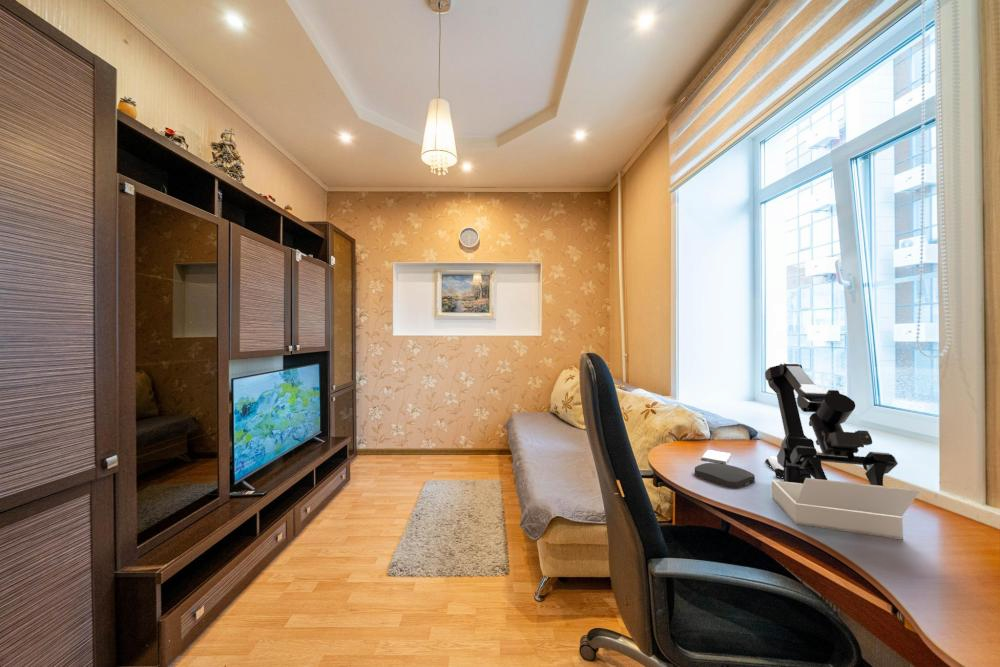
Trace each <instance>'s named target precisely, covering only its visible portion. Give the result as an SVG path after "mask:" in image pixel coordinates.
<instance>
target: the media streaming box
mask: <svg viewBox="0 0 1000 667" xmlns="http://www.w3.org/2000/svg"><path fill="white" fill-rule="evenodd" d="M694 475H695V476H696V475H697V476H698V477H697V476H696V477H697V478H700V477H701V478H700V479H702V478H703V479H702V480H705V479H706V481H708V480H709V482H711V483H713V482H714V484H716V483H717V484H716V485H719V484H720V485H719V486H722V485H723V486H722V487H726V486H727V487H726V488H731V487H732V488H731V489H740V488H743V486H744V487H746V485H747V486H749V485H751V483H752V484H755V481H756V480H755V479H756V476H755V474H754V473H752V472H751V471H749V470H746V469H745V468H741V467H738V466H734V465H729V464H721V463H716V462H706V463H701V464H698V465H697V466H695V467H694ZM739 487H740V488H739Z"/></svg>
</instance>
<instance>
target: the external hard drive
mask: <svg viewBox="0 0 1000 667" xmlns="http://www.w3.org/2000/svg"><path fill="white" fill-rule="evenodd" d="M730 456H731V457H732V454H731V452H725V451H718V450H712V449H707V450H706V451H705V452H704V454H703V455H702V456H701V459H704V460H703V461H705V460H709V461H708V462H710V461H714V462H713V463H716V462H719V463H718V464H721V463H724V464H726V463H727V464H728V463H729V460H730V459H731V457H730ZM729 458H730V459H729ZM701 459H700V460H701ZM727 464H726V465H727Z"/></svg>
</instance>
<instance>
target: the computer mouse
mask: <svg viewBox="0 0 1000 667" xmlns="http://www.w3.org/2000/svg"><path fill="white" fill-rule="evenodd" d="M765 463H766V464H767V465H769V466H771V467H772V468H773V469H774V470H775V471H774V470H773V469H772V468H771V467H770V468H771V469H772V470H773V471H774V474H775V475H774V476H775V477H776V476H777V478H779V477H780V478H782V477H783V478H782V479H784V467H782V466H781V465H780V464H779V463H778V460H777V456H776V455H775V456H774V455H772V456H768V457H767V458H765V461H764V464H765ZM766 464H765V465H766ZM767 465H766V466H767ZM769 466H768V467H769Z"/></svg>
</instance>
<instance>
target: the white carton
mask: <svg viewBox="0 0 1000 667" xmlns="http://www.w3.org/2000/svg"><path fill="white" fill-rule="evenodd" d="M783 481H784V480H773V479H772V480H771V492H772V493H771V494H772V495H771V496H772V497H773V498H772V497H771V498H772V499H773V500H774V501H775V502H776V503H777V504H778V506H779V507H780V508H781V509H782V510H783V511H784V513H785V514H786V515H787V516H788V517H789V518H790V520H792V522H793V523H794V524H795V525H798V524H799V525H798V526H805V527H806V526H807V527H812V526H814V528H819V527H821V529H826V528H827V530H833V531H841V532H846V531H847V532H846V533H855V534H861V535H867V534H868V535H870V536H874V535H876V537H881V536H883V537H882V538H888V537H890V538H889V539H896V540H904V531H903V530H904V529H903V528H904V527H903V516H902V517H900V516H893V515H885V514H877V513H869V512H861V511H854V510H846V509H838V508H830V507H822V506H815V505H807V504H799V503H796V500H797V498H798V495H799V493H800V491H801V488H802V486H803V484H801V483H792V482H783Z"/></svg>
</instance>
